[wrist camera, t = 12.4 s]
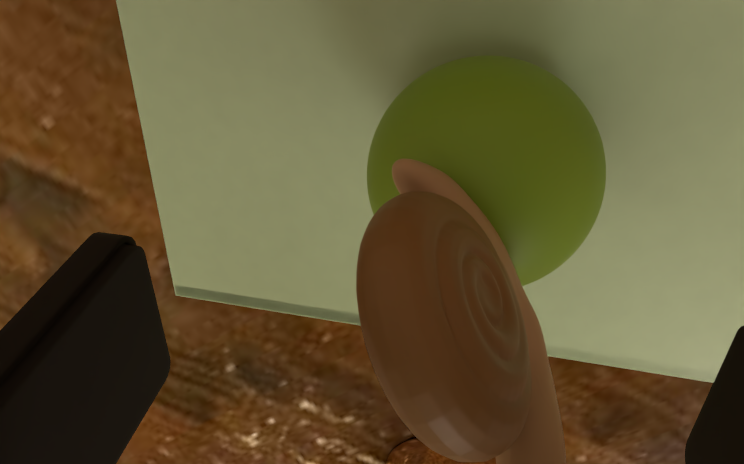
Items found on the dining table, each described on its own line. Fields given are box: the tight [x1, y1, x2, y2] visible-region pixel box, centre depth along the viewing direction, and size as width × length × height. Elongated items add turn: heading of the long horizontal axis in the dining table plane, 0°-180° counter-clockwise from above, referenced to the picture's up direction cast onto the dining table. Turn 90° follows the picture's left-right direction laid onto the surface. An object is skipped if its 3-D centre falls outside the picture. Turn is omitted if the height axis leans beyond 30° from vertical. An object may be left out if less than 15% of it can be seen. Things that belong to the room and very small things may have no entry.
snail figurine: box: [356, 55, 606, 464], centre depth 13 cm, size 5×6×12 cm
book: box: [116, 0, 744, 383], centre depth 19 cm, size 15×21×3 cm
